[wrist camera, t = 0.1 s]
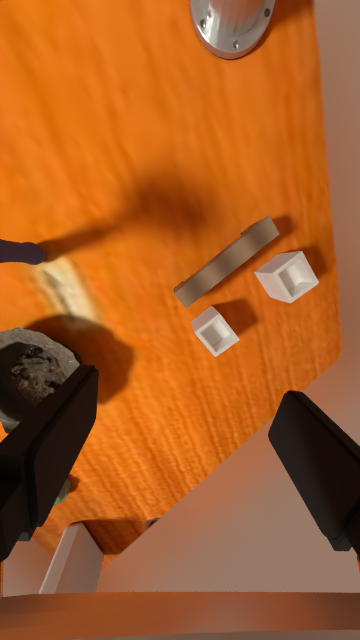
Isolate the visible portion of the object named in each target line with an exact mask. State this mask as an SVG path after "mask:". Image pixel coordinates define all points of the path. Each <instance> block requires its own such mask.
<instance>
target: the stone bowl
mask: <svg viewBox="0 0 360 640" xmlns="http://www.w3.org/2000/svg"><path fill="white" fill-rule="evenodd" d="M81 364H82V361H81V359H80V357H79V356H78V355H77V354H76V353H75V352H74V351H72V350H70V349H69V348H68V347H67V346H65V345H62V344H60V343H57V342H54V341H53V340H51V339H50V338H49V337H47V336H46V335H44V334H42V333H40V332H34V331H31V330H26V329H23V328H14V329H12V330H11V331H9V330H7V331H2V332H0V421H1V422H2V425H3V428H4V430H5V432H6V433H10V432H11V431H12V430H13V429H14V428H15V427H16V426H17V425H18V424H19V423H20V422H21V421H22V420H23V419H24V418H25V417H26V416H27V415H28V414H29V413H30V412H31V411H32V410H33V409H34V408H35V407H36V406H37V405H38V404H39V403H40V402H41V401H42V400H43V399H44V398H45V397H46V396H47V395H48V394H50V393H54V392H55V391H56V390H57V389H58V387H59V386H60V385H61V384H62V383H63V382H64V381H65V380H66V379H67V378H68V377H69V376H70V375H71V374H72V373H73V372H74V371H75V369H76V368H77V367H78V366H79V365H81Z"/></svg>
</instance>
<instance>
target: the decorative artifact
mask: <svg viewBox="0 0 360 640" xmlns="http://www.w3.org/2000/svg"><path fill="white" fill-rule="evenodd" d="M70 488H71V481H70V480H69V479H68V478H67V479H66V481H65V483H64V485H63V487H62V489H61V491H60V493H59V495H58V497H57V499H56V501H55V503H54V505H53V507H54V506H55V505H56V504H58V503H61V502H63V501H64V500H65V499H66V497H67V495H68V492H69V490H70Z"/></svg>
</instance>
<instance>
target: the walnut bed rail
mask: <svg viewBox="0 0 360 640" xmlns="http://www.w3.org/2000/svg"><path fill="white" fill-rule="evenodd" d="M279 234H280V233H279V232H278V230H277V228H276V226H275V224H274V223H273V221H272V219H271V217H270V215H269V216H267V217H266V218H264V219H262V220H260V221H258V222H256V223H254V224H252V225H251V226H249V227H248V228H247V229H246V230H244V231H243V232H242V233H241V236H240V237H238V238H237V239H236V240H235V241H234V242H232V243H231V244H230V245H229V246H228V247H226V248H225V249H224V250H223V251H221V252H220V253H219V254H218V255H217V256H215V257H214V258H213V259H212V260H211V261H209V262H208V263H207V264H206V265H204V266H203V267H202V268H201V269H200V270H198V271H197V272H196V273H195V274H194V275H192V276H191V277H190V278H189V279H187V280H186V281H185V282H184V283H183V282H181V283H180V284H179V285H178V286H177V287H175V288H174V294H175V295H176V297H177V298H178V299H179V300H180V301H181V303H182V304H183V305H184V306H185V307H186V308H187V307H188V306H190V305H191V304H192V303H194V302H195V301H196V300H197V299H199V298H200V297H201V296H202V295H204V294H205V293H206V292H207V291H209V290H210V289H211V288H212V287H214V286H215V285H216V284H218V283H219V282H220V281H221V280H223V279H224V278H225V277H226V276H228V275H229V274H230V273H231V272H233V271H234V270H235V269H236V268H238V267H239V266H240V265H241V264H243V263H244V262H245V261H247V260H248V259H249V258H250V257H252V256H253V255H254V254H255V253H257V252H258V251H259V250H260V249H262V248H263V247H264V246H265V245H267V244H268V243H269V242H270V241H272V240H273V239H274V238H276V237H277V236H278V235H279Z"/></svg>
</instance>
